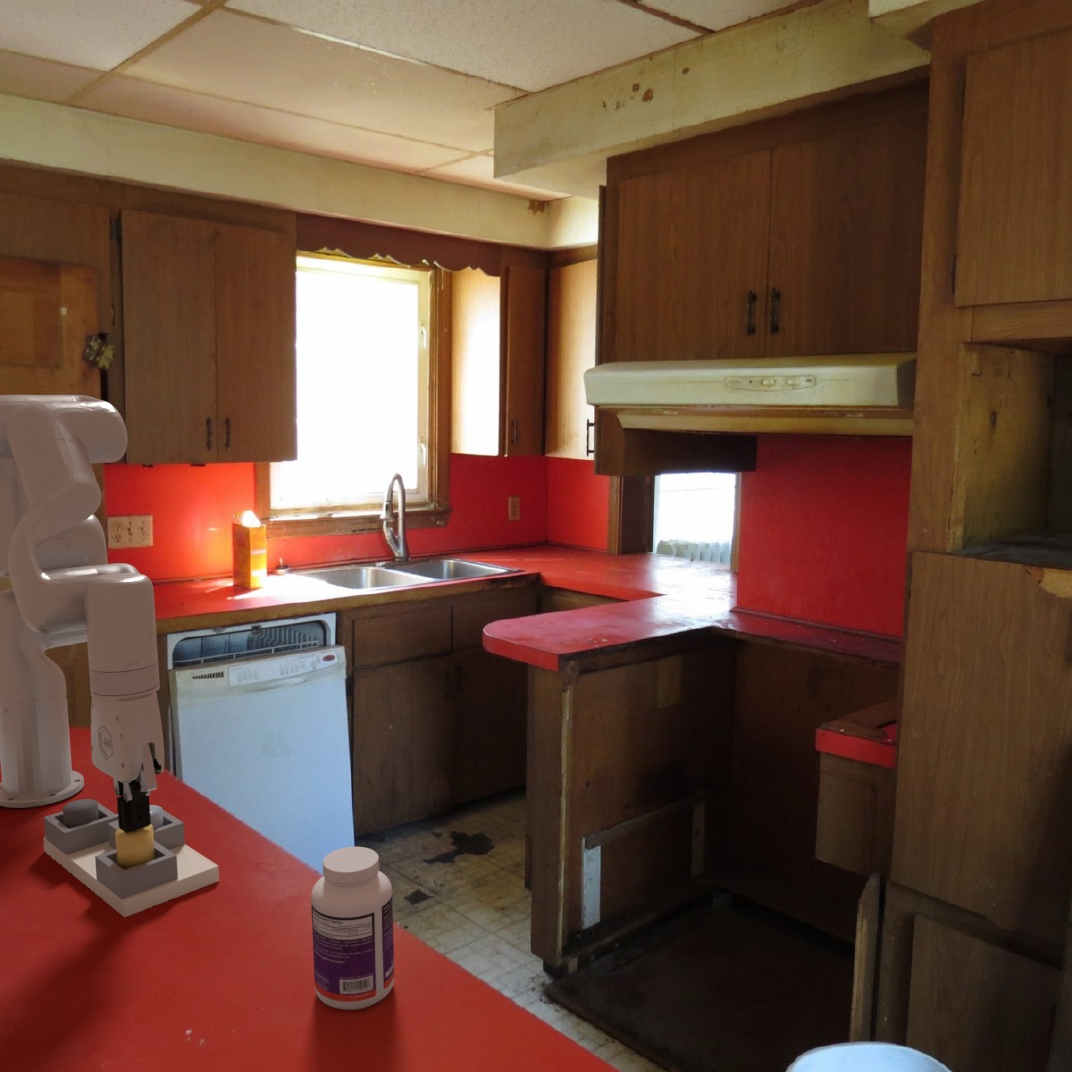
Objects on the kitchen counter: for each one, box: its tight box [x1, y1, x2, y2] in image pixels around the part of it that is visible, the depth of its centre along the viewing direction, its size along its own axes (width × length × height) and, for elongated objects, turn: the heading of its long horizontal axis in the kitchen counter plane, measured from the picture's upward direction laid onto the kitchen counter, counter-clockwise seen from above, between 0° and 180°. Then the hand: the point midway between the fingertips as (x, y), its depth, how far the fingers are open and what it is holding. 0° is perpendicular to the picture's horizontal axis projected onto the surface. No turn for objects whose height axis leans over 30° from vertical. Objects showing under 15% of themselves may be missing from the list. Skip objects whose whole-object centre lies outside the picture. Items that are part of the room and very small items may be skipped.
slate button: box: [150, 804, 163, 829], centre depth 130 cm, size 4×4×4 cm
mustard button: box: [115, 824, 155, 869], centre depth 121 cm, size 4×4×4 cm
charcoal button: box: [62, 798, 99, 829], centre depth 132 cm, size 4×4×4 cm
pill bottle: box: [310, 846, 395, 1011], centre depth 102 cm, size 8×8×14 cm
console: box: [42, 802, 220, 918], centre depth 129 cm, size 24×12×5 cm, turn 46°
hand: (134, 827), depth 120 cm, fingers closed
